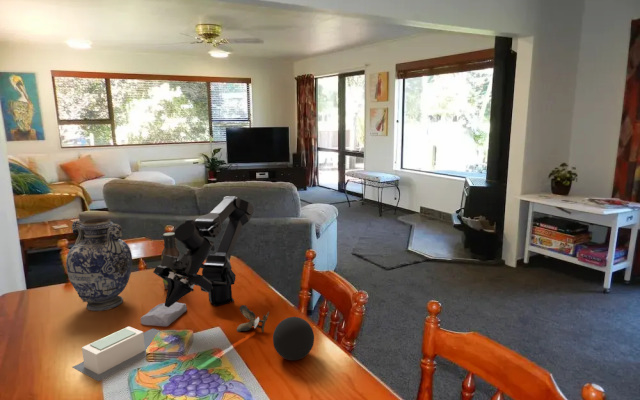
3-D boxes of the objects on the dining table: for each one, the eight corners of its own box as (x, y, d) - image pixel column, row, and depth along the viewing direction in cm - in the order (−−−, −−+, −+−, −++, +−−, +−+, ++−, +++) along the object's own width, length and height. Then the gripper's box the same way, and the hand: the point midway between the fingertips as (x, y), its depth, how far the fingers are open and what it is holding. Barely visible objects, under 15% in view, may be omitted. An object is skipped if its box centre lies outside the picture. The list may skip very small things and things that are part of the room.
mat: (153, 330, 116) (153, 328, 115) (179, 340, 110) (179, 338, 110) (72, 370, 97) (72, 367, 97) (99, 384, 91) (98, 381, 91)
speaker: (318, 348, 105) (317, 311, 103) (308, 371, 95) (307, 330, 93) (281, 344, 107) (279, 308, 105) (267, 366, 97) (266, 326, 95)
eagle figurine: (270, 319, 119) (241, 311, 120) (269, 305, 114) (238, 298, 115) (261, 343, 114) (230, 335, 115) (259, 330, 109) (227, 322, 110)
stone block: (139, 333, 118) (169, 329, 116) (134, 318, 118) (165, 313, 116) (162, 316, 130) (190, 312, 128) (158, 302, 129) (186, 298, 127)
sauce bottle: (161, 286, 148) (156, 233, 145) (179, 282, 152) (174, 230, 149) (167, 292, 143) (162, 236, 140) (185, 287, 147) (180, 233, 144)
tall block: (128, 325, 106) (81, 346, 96) (143, 330, 103) (96, 353, 93) (130, 344, 107) (84, 367, 97) (145, 350, 104) (98, 374, 94)
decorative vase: (54, 310, 130) (44, 224, 125) (104, 290, 147) (97, 213, 142) (104, 321, 122) (95, 229, 117) (151, 298, 139) (144, 217, 134)
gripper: (155, 238, 119) (124, 287, 111) (200, 247, 109) (169, 301, 102) (180, 256, 127) (152, 303, 119) (224, 266, 117) (196, 318, 109)
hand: (166, 306), depth 112 cm, fingers closed
